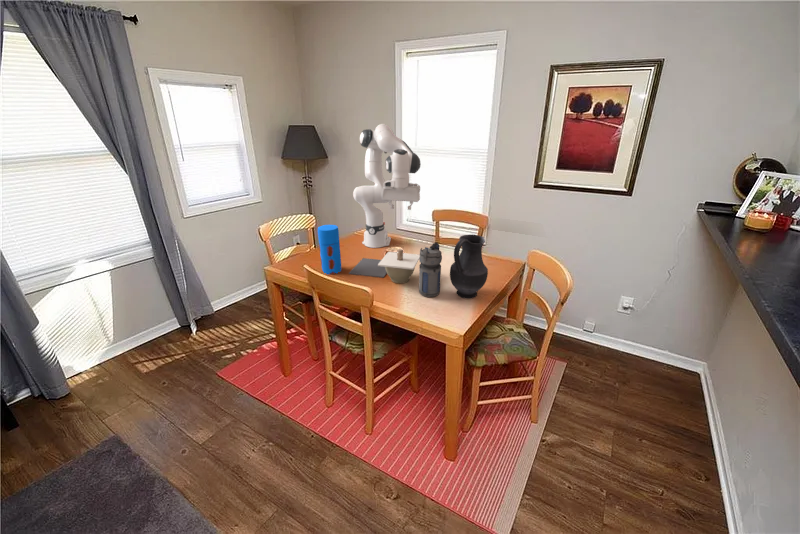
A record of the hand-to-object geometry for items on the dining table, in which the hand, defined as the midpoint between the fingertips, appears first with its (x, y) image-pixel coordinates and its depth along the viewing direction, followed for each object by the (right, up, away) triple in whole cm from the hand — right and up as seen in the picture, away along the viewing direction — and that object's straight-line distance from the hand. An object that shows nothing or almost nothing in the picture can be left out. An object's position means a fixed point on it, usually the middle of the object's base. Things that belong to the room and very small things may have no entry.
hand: (400, 208), depth 184 cm
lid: (0, -28, -7) cm, 29 cm away
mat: (-16, -32, +11) cm, 37 cm away
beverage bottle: (+14, -44, -16) cm, 49 cm away
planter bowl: (0, -38, -3) cm, 38 cm away
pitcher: (+31, -45, -19) cm, 58 cm away
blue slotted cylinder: (-39, -33, +9) cm, 52 cm away
